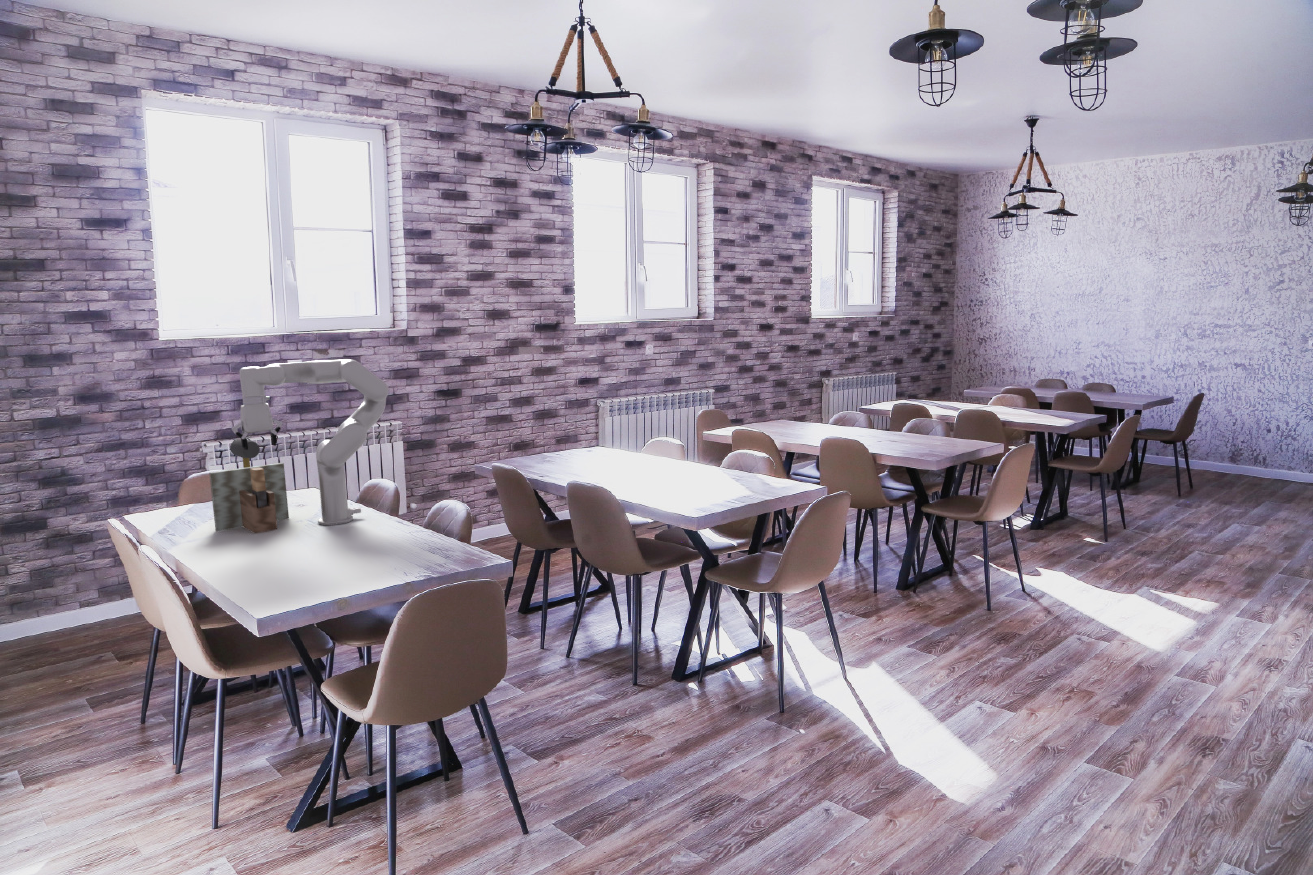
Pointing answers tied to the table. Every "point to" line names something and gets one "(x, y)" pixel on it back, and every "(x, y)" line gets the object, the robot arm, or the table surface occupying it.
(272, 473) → the grey patterned screen
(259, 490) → the brown and grey block
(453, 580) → the table surface
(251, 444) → the rubber mallet
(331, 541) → the table surface
